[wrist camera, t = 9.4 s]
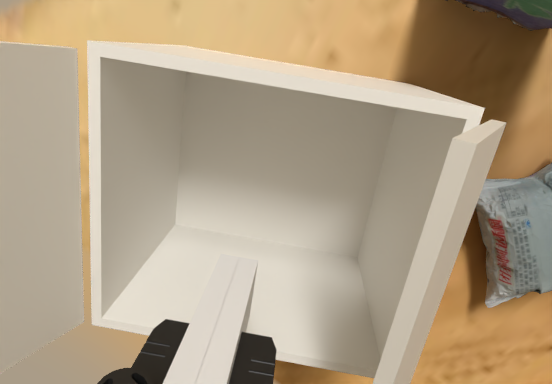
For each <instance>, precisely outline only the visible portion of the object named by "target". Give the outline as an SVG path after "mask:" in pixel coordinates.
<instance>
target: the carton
mask: <svg viewBox="0 0 552 384" xmlns="http://www.w3.org/2000/svg"><path fill="white" fill-rule="evenodd" d="M87 55H88V119H89V182H90V246H91V307H92V309H91V310H92V325H96V326H101V327H106V328H111V329H117V330H122V331H127V332H132V333H138V334H143V335H149V336H150V334H151V332H152V330H153V329H154V328H155V327H156V326H157V325H159V324H160V323H161V322H163V321H164V320H165V319H169V320H174V321H180V322H185V323H190V322H191V319H192V317H193V315H194V313H195V310H196V308H197V306H198V304H199V302H200V299H201V297H202V295H203V293H204V290H205V288H206V286H207V284H208V281H209V279H210V277H211V275H212V273H213V270H214V268H215V266H216V264H217V261H218V259H219V257H220V255H221V254H226V255H231V256H237V257H242V258H248V259H254V260H258V265H257V271H256V278H255V284H254V291H253V297H252V304H251V310H250V317H249V321H248V325H247V330H246V333H251V334H257V335H262V336H268V337H272V339H273V342H274V344H275V347H276V350H277V351H276V360H280V361H286V362H291V363H296V364H301V365H307V366H312V367H317V368H323V369H328V370H333V371H338V372H344V373H349V374H354V375H360V376H365V377H370V378H375V375H376V372H377V369H378V366H379V363H380V360H381V357H382V354H383V351H384V348H385V344H386V341H387V338H388V335H389V332H390V329H391V326H392V323H393V320H394V317H395V314H396V311H397V308H398V304H399V301H400V298H401V295H402V292H403V289H404V286H405V283H406V280H407V277H408V274H409V271H410V268H411V264H412V261H413V258H414V255H415V252H416V249H417V246H418V243H419V240H420V237H421V234H422V231H423V228H424V224H425V221H426V218H427V215H428V212H429V209H430V206H431V203H432V200H433V197H434V194H435V191H436V187H437V184H438V181H439V178H440V175H441V172H442V169H443V166H444V163H445V160H446V157H447V154H448V151H449V147H450V144H451V141H452V138H454V137H456V136H458V135H460V134H462V133H464V132H466V131H468V130H471V129H473V128H475V127H477V126H479V124H480V121H481V118H482V115H483V112H484V109H485V108H483V107H480V106H477V105H474V104H471V103H468V102H465V101H462V100H458V99H455V98H452V97H449V96H446V95H443V94H440V93H437V92H434V91H431V90H428V89H425V88H421V87H418V86H415V85H412V84H409V83H403V82H397V81H391V80H386V79H380V78H374V77H368V76H362V75H356V74H350V73H344V72H338V71H332V70H326V69H320V68H315V67H309V66H303V65H297V64H291V63H285V62H279V61H273V60H267V59H261V58H255V57H250V56H244V55H238V54H232V53H226V52H220V51H214V50H208V49H202V48H196V47H190V46H184V45H167V44H147V43H126V42H106V41H87Z"/></svg>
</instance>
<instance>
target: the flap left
mask: <svg viewBox="0 0 552 384" xmlns="http://www.w3.org/2000/svg"><path fill="white" fill-rule="evenodd" d="M82 263H83V262H82V221H81V180H80V140H79V99H78V58H77V49H76V48H72V47H65V46H53V45H40V44H28V43H15V42H2V41H0V374H1V373H2V372H3V371H5V370H7V369H9V368H10V367H12V366H13V365H15V364H17V363H18V362H20V361H22V360H23V359H25V358H26V357H28V356H29V355H31V354H33V353H34V352H36V351H38V350H39V349H41V348H42V347H44V346H46V345H47V344H49V343H51V342H52V341H53V340H55V339H57V338H59V337H60V336H62V335H63V334H65V333H66V332H68V331H70V330H71V329H73V328H75V327H76V326H78V325H80V324H81V323H83V322H84V304H83V267H82V266H83V265H82Z"/></svg>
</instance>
